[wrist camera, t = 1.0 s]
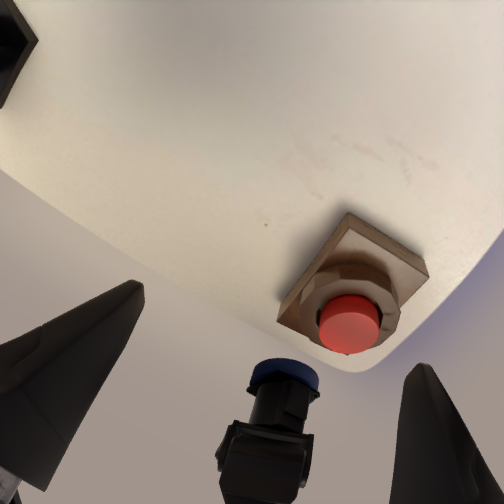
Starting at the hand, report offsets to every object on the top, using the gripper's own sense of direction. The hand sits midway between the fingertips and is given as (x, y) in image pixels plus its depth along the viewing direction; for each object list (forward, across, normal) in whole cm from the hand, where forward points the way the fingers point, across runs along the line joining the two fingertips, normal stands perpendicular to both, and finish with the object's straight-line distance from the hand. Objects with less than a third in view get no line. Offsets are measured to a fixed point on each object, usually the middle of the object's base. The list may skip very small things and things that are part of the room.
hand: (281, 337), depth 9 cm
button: (+10, -5, +7) cm, 13 cm away
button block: (+14, -5, +7) cm, 16 cm away
